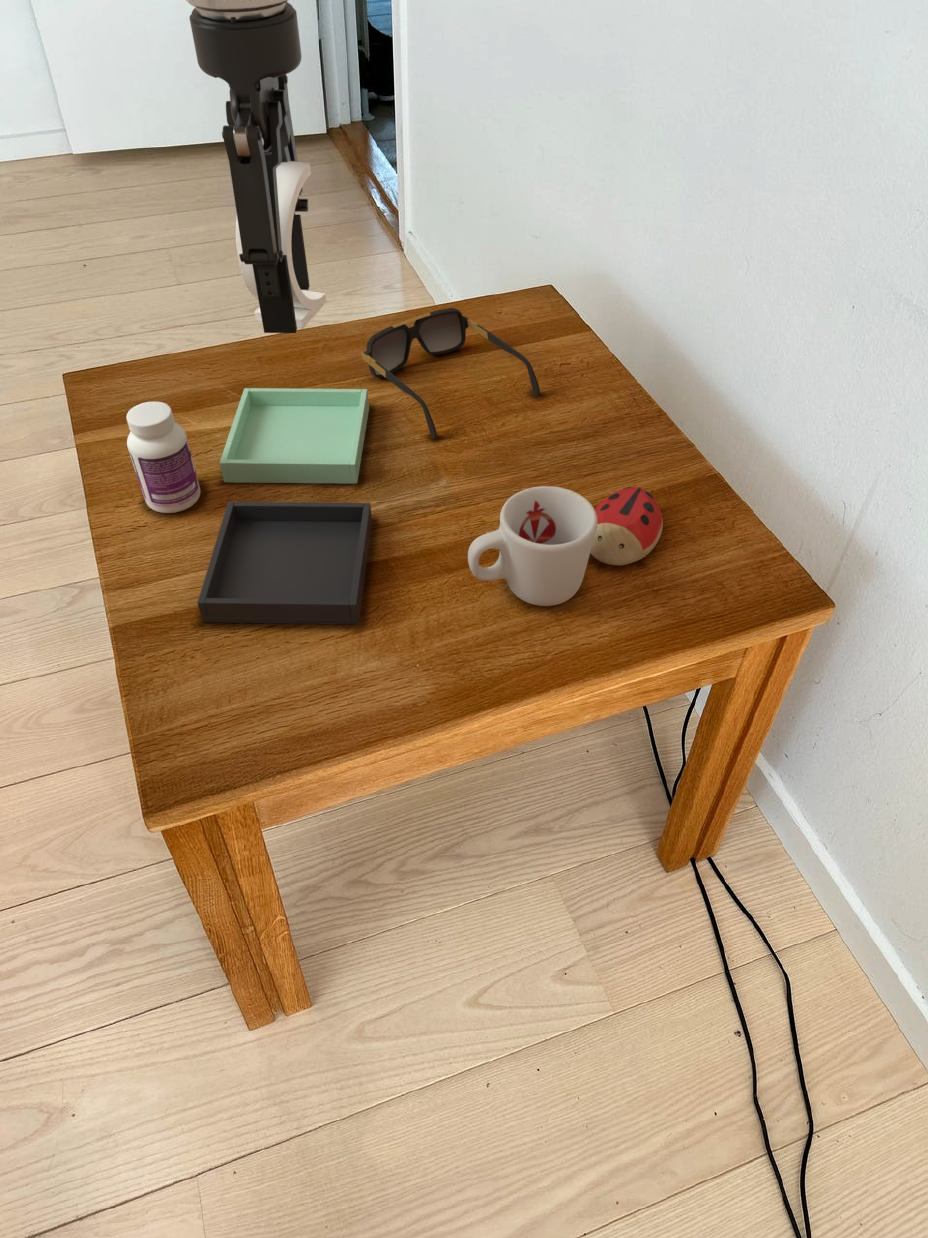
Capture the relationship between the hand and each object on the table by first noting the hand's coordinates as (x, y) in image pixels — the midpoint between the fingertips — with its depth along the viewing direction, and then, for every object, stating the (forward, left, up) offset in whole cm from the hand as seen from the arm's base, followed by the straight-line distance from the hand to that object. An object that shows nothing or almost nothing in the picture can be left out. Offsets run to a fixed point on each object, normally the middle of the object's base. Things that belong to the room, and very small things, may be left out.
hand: (287, 308), depth 82 cm
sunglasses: (+13, +14, -17) cm, 26 cm away
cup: (+21, -18, -17) cm, 33 cm away
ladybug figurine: (+30, -11, -17) cm, 36 cm away
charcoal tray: (0, -16, -17) cm, 23 cm away
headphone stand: (0, 0, -1) cm, 1 cm away
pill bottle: (-13, -6, -17) cm, 22 cm away
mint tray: (-2, +3, -17) cm, 17 cm away
